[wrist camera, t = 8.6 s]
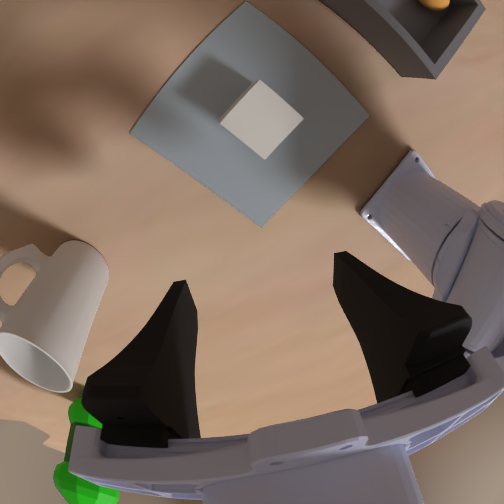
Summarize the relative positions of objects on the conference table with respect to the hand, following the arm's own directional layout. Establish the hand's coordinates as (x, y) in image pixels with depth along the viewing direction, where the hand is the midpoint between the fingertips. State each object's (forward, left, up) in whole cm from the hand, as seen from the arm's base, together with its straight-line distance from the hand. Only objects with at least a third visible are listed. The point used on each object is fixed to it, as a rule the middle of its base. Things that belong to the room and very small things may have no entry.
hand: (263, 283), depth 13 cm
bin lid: (+3, -6, -11) cm, 13 cm away
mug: (+11, +13, -10) cm, 20 cm away
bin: (+2, -23, -10) cm, 25 cm away
